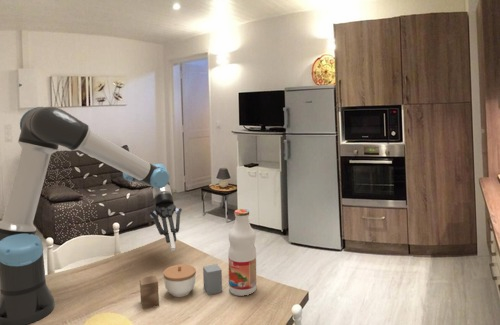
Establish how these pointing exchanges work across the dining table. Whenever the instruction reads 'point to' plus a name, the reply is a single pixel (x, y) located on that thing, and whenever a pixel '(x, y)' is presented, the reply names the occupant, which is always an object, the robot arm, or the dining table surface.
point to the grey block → (212, 279)
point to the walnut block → (149, 292)
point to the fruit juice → (242, 255)
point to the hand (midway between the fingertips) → (173, 249)
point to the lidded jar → (179, 279)
